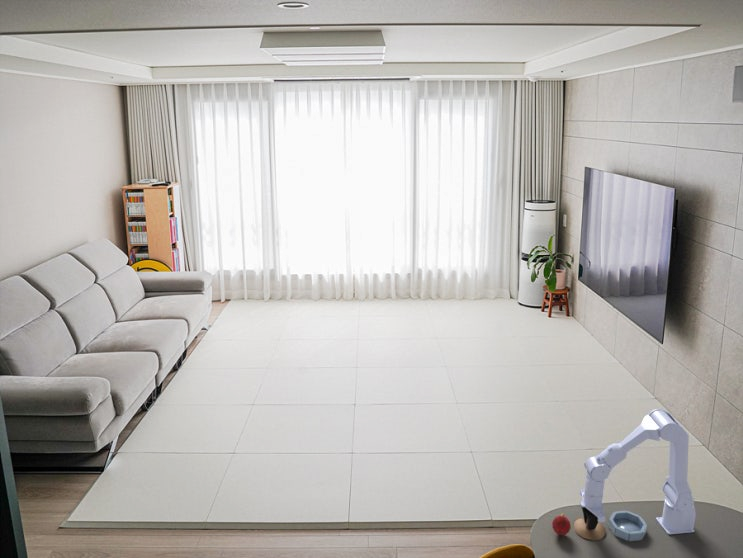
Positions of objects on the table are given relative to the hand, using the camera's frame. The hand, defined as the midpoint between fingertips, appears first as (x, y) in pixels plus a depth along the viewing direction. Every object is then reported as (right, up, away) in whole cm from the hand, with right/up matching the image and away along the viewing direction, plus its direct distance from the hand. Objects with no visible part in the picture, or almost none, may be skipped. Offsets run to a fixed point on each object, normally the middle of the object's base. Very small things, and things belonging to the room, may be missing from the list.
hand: (589, 525), depth 217 cm
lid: (0, -2, +1) cm, 2 cm away
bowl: (+13, -1, 0) cm, 13 cm away
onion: (-10, -3, -1) cm, 11 cm away
